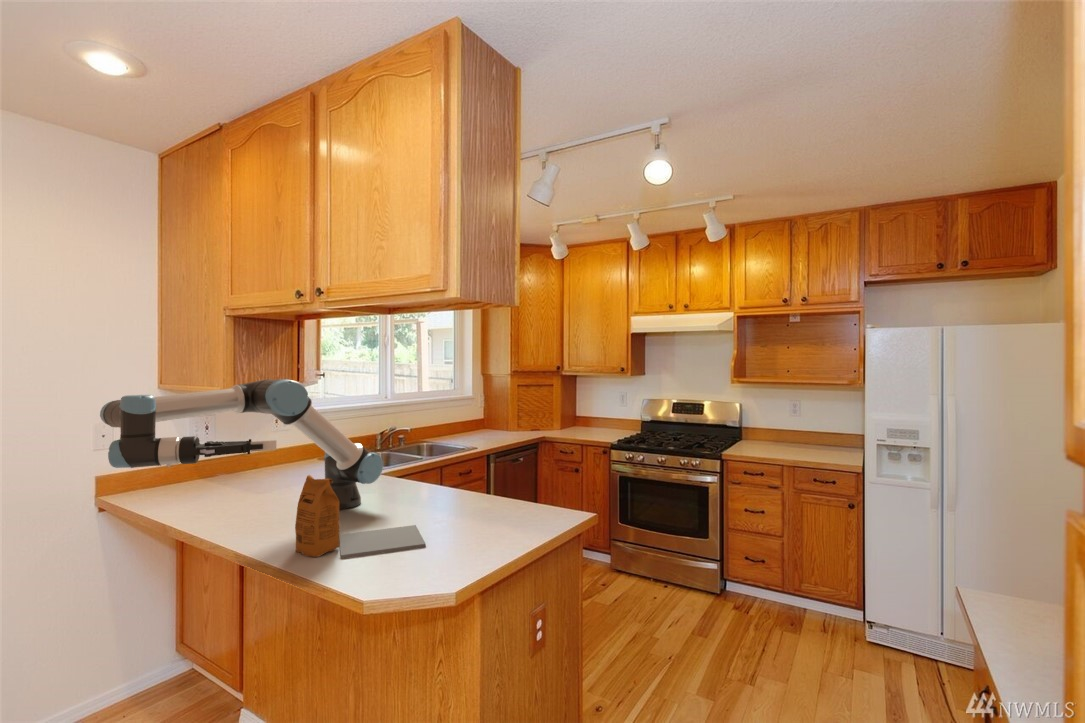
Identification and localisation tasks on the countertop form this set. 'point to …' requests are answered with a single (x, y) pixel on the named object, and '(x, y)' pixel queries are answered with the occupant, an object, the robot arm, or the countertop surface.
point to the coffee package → (317, 518)
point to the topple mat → (380, 541)
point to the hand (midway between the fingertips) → (276, 445)
